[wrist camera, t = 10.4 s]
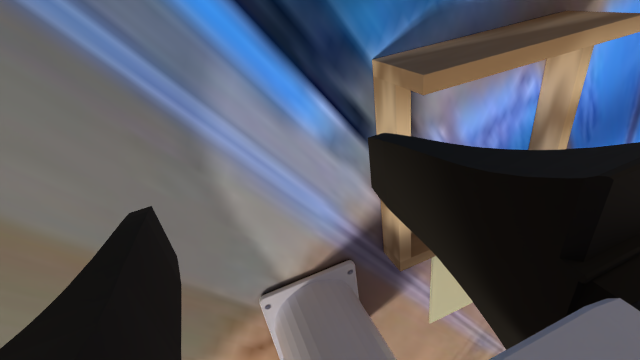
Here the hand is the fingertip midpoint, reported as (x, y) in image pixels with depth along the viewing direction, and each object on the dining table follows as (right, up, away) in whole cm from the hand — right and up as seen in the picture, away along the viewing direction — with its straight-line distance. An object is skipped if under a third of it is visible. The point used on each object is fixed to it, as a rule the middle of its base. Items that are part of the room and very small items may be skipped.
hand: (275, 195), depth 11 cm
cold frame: (+13, +4, +15) cm, 21 cm away
